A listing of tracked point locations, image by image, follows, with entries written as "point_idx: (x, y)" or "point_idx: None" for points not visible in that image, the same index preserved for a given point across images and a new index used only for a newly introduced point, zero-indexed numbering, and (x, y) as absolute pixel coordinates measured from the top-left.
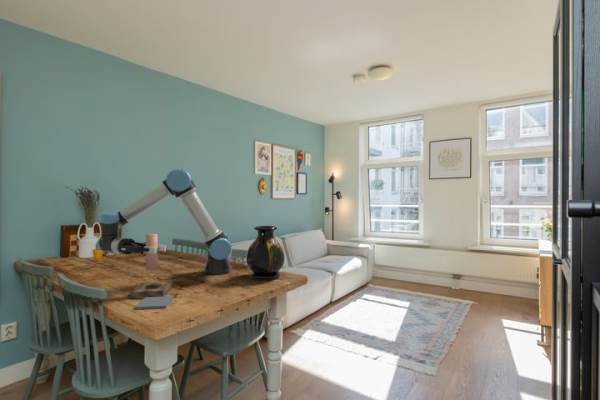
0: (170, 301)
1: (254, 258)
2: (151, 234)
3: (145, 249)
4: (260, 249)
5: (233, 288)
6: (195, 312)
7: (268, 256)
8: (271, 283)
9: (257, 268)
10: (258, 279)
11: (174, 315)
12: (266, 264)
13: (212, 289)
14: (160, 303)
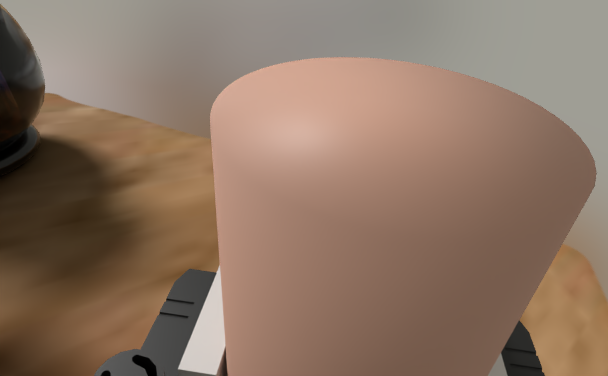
0: None
1: (9, 75)
2: (387, 122)
3: (527, 362)
4: (3, 20)
5: (149, 202)
6: None
7: (29, 42)
8: (86, 134)
9: (30, 114)
10: (23, 163)
11: None
12: (43, 79)
13: (166, 260)
14: None
